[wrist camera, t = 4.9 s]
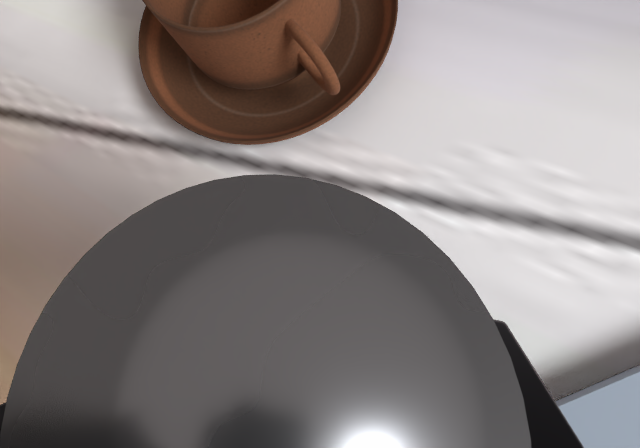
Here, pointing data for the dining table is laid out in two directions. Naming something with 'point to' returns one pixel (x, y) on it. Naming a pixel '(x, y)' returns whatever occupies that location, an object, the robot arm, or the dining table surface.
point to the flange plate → (606, 412)
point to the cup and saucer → (261, 62)
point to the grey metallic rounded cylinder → (265, 333)
